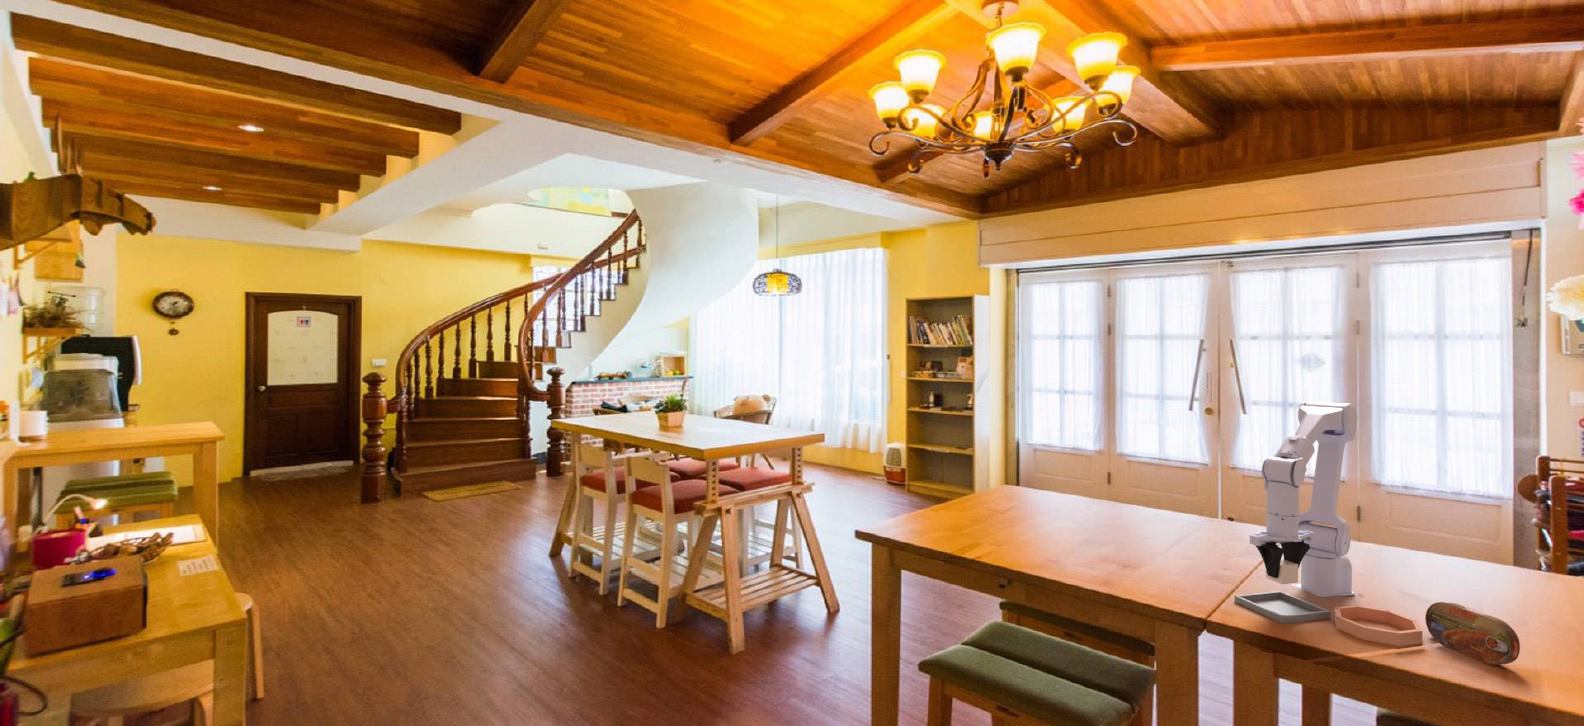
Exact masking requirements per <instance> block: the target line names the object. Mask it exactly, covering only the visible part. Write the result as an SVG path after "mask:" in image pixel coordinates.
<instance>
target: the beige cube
mask: <svg viewBox="0 0 1584 726" xmlns="http://www.w3.org/2000/svg"><path fill="white" fill-rule="evenodd" d="M1265 579H1266V580H1267V579H1268V580H1270V581H1272V582H1275V583H1277V584H1280V585H1288V584H1289V585H1291V584H1299V569H1298V564H1296V563H1293V562H1290V561H1287V560H1285V559H1284V558H1281V562H1280V571H1279V576H1278V578H1274V577H1271V576H1268V574H1267V571H1266V570H1265Z"/></svg>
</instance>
